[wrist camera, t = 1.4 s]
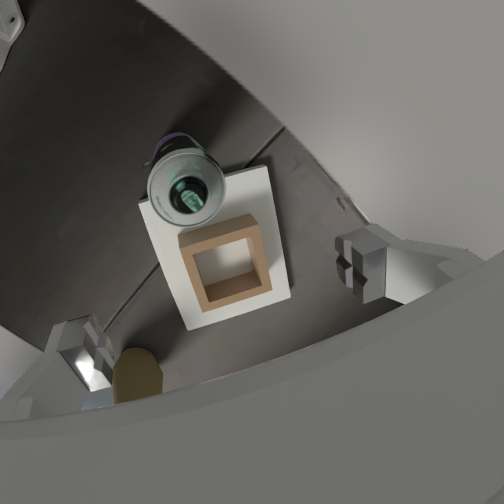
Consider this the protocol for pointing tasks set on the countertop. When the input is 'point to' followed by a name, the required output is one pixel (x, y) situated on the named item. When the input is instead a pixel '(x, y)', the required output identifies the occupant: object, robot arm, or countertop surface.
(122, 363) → the squeeze bottle
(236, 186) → the socket board
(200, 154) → the spray can
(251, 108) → the countertop surface
